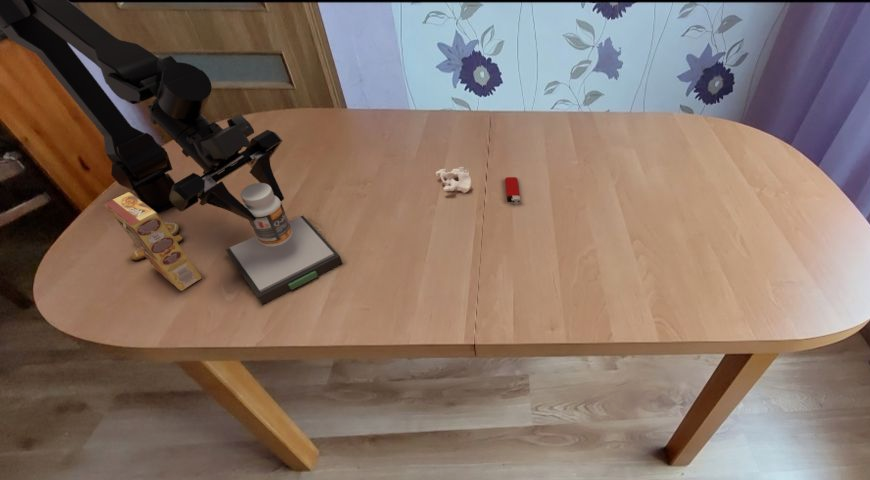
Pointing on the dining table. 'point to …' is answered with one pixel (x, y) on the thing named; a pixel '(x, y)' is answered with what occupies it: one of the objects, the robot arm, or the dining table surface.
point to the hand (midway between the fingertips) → (268, 210)
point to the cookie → (174, 230)
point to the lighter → (512, 190)
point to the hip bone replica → (460, 185)
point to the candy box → (153, 239)
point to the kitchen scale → (284, 261)
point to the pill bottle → (266, 214)
